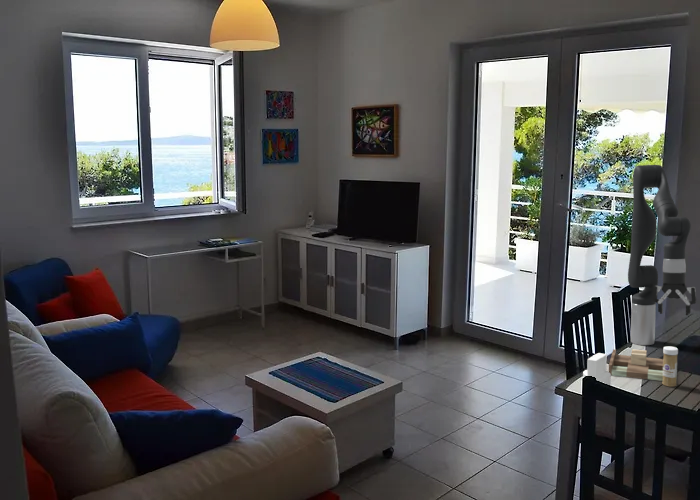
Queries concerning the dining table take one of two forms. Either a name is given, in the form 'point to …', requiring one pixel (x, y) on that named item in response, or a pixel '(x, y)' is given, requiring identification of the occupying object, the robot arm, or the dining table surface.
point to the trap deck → (636, 367)
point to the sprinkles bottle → (670, 366)
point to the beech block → (638, 357)
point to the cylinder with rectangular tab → (598, 368)
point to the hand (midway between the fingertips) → (674, 314)
